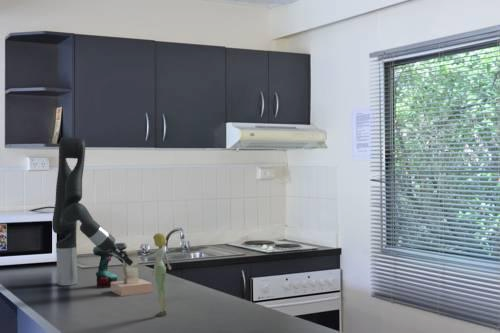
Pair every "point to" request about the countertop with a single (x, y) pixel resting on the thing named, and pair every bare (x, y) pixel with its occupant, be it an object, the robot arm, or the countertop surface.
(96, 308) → the countertop surface
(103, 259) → the power drill
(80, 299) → the countertop surface
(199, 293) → the countertop surface
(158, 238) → the sculpture
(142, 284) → the base block
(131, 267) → the post
